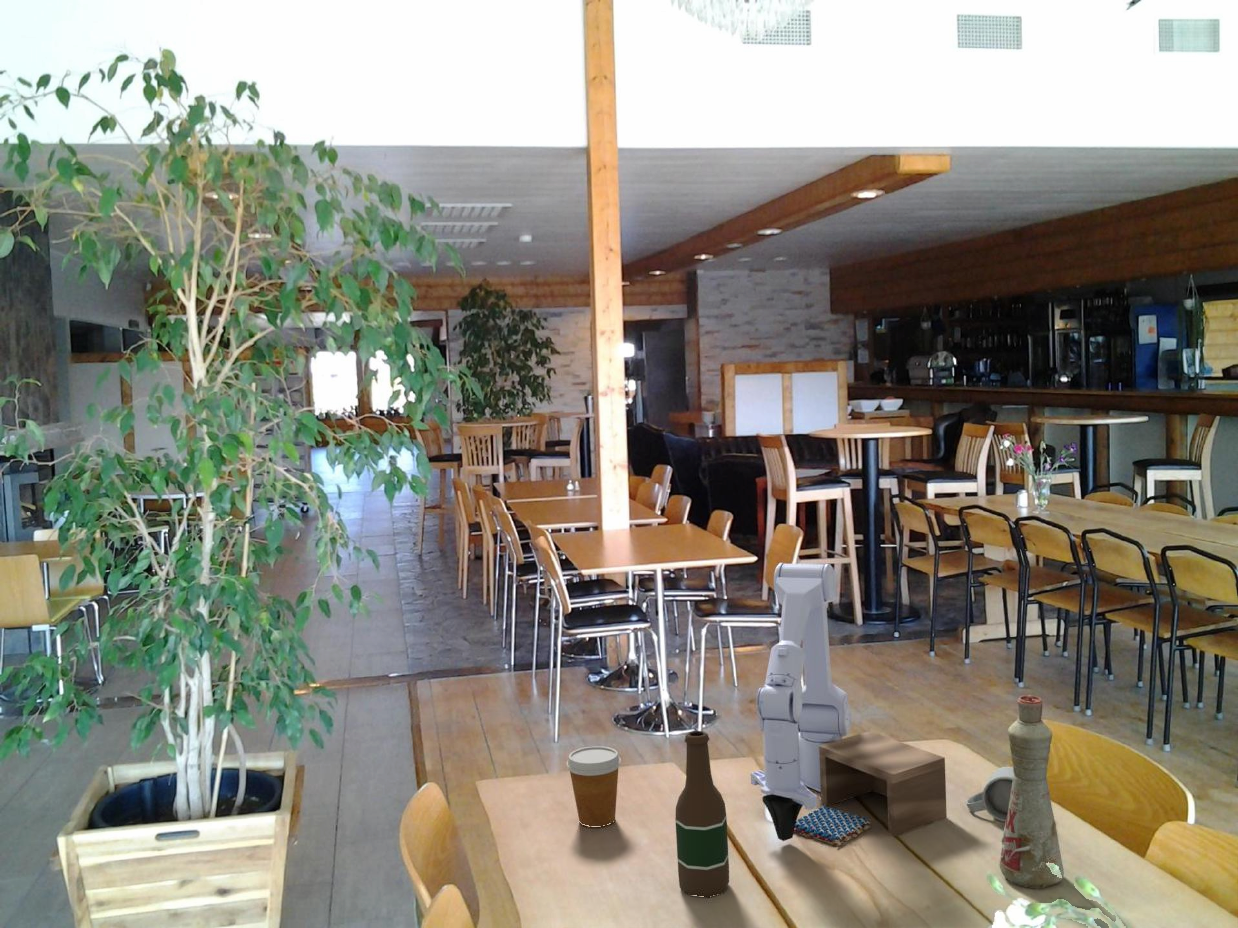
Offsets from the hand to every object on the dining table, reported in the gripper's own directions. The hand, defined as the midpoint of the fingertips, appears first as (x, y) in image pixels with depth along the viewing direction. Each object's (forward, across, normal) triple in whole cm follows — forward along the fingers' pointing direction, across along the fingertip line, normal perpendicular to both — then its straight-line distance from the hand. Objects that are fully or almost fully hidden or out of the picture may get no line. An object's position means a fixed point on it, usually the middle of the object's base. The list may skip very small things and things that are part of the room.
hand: (785, 838), depth 188 cm
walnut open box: (+1, 0, +22) cm, 22 cm away
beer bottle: (+1, +4, -19) cm, 20 cm away
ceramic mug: (+1, +13, +36) cm, 38 cm away
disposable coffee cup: (+1, -28, -19) cm, 34 cm away
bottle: (+1, +32, +21) cm, 38 cm away
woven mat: (+2, 0, +10) cm, 10 cm away
